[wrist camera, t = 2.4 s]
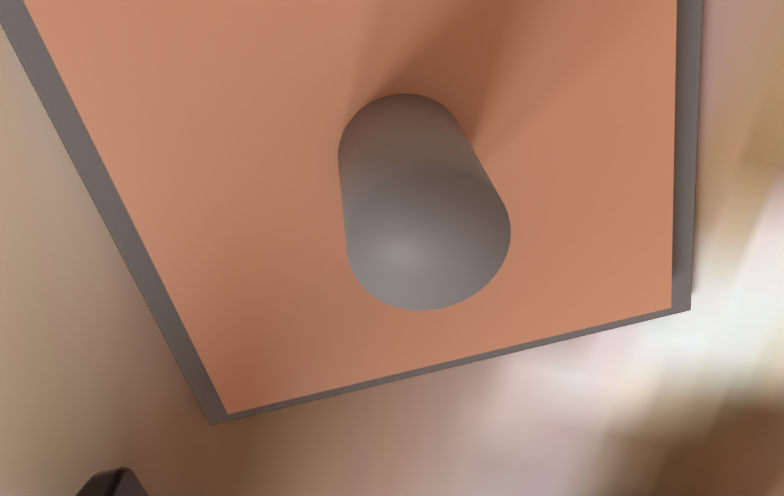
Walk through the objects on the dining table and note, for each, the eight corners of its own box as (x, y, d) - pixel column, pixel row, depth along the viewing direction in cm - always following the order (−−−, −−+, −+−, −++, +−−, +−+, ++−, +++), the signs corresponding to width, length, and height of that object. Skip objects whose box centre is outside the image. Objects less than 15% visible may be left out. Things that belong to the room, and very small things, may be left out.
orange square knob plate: (658, 291, 19) (753, 409, 15) (230, 394, 19) (210, 538, 15) (661, -251, 12) (835, -304, 8) (1, -83, 13) (-147, -53, 8)
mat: (683, 302, 20) (690, 309, 20) (212, 415, 20) (210, 425, 20) (704, -327, 12) (715, -333, 12) (-68, -129, 12) (-79, -128, 12)
